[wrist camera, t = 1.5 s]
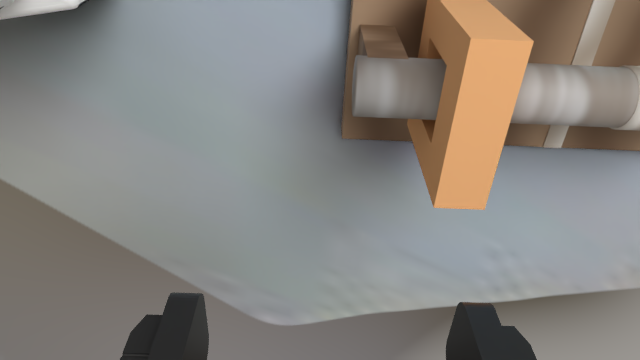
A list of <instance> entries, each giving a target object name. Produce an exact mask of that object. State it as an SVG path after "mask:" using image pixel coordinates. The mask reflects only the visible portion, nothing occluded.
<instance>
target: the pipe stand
mask: <svg viewBox="0 0 640 360" xmlns="http://www.w3.org/2000/svg"><path fill="white" fill-rule="evenodd" d="M487 1H488V2H489V3H491V4H492V5H493V6H494V7H495V8H496V9H497V10H499V11H500V12H501V13H502V14H503V15H504V16H505V17H507V18H508V19H509V20H510V21H511V22H512V23H513V24H515V25H516V26H517V27H518V28H519V29H520V30H521V31H523V32H524V33H525V34H526V35H527V36H528V37H529V38H531V39H532V40H533V41H534V42H533V46H532V49H531V53H530V56H529V59H528V63H527V66H526V70H525V73H524V77H523V80H522V83H521V87H520V90H519V94H518V97H517V100H516V104H515V107H514V111H513V114H512V117H511V121H510V124H509V128H508V131H507V135H506V138H505V141H504V145H512V146H536V147H543V148H585V149H609V150H633V151H640V0H487ZM426 5H427V0H351V11H350V24H349V36H348V49H347V62H346V74H345V87H344V100H343V112H342V125H341V131H342V138H343V139H367V140H391V141H412V138H411V135H410V132H409V129H408V126H407V121H408V119H424V120H436V117H437V112H438V107H439V102H440V97H441V92H442V87H443V82H444V77H445V72H446V67H447V65H446V64H445V62H444V60H443V59H429V58H418V54H419V48H420V42H421V35H422V29H423V23H424V17H425V11H426Z"/></svg>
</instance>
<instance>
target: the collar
mask: <svg viewBox="0 0 640 360" xmlns="http://www.w3.org/2000/svg"><path fill="white" fill-rule="evenodd" d="M533 42H534V41H533V40H532V39H531V38H529V37H528V36H527V35H526V34H525V33H524V32H523V31H521V30H520V29H519V28H518V27H517V26H516V25H515V24H513V23H512V22H511V21H510V20H509V19H508V18H507V17H505V16H504V15H503V14H502V13H501V12H500V11H499V10H497V9H496V8H495V7H494V6H493V5H492V4H491V3H489V2H488V1H487V0H427V5H426V11H425V17H424V23H423V29H422V35H421V42H420V48H419V54H418V58H429V59H443V60H444V62H445V64H446V65H447V67H446V72H445V77H444V82H443V87H442V92H441V97H440V102H439V107H438V112H437V117H436V120H424V119H408V121H407V126H408V129H409V132H410V135H411V138H412V141H413V144H414V148H415V151H416V154H417V157H418V160H419V163H420V166H421V169H422V172H423V176H424V179H425V182H426V185H427V188H428V191H429V194H430V197H431V201H432V204H433V207H434V208H455V209H481V210H485V206H486V203H487V199H488V196H489V193H490V189H491V186H492V182H493V179H494V175H495V172H496V169H497V165H498V162H499V158H500V155H501V152H502V148H503V145H504V141H505V138H506V135H507V131H508V128H509V124H510V121H511V117H512V114H513V111H514V107H515V104H516V100H517V97H518V94H519V90H520V87H521V83H522V80H523V77H524V73H525V70H526V66H527V63H528V59H529V56H530V53H531V49H532V46H533Z"/></svg>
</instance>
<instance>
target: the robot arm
mask: <svg viewBox="0 0 640 360" xmlns="http://www.w3.org/2000/svg"><path fill="white" fill-rule="evenodd" d="M208 345H209V334H208V326H207V317H206V309H205V302H204V296H203V294H200V293H197V294H196V293H171V294H170V296H169V298H168V300H167V303H166V306H165V309H164V312H163V315H146V316H145V317H144V318H143V319H142V320H141V322H140V323H139V324H138V325H137V326H136V327H135V328H134V329H133V330H132V331H131V333H130V336H129V338H128V341H127V343H126V346H125V348H124V351H123V356H122V357H121V358H120V360H207V354H208ZM446 360H537V359H536V357H535V354H534V352H533V350H532V348H531V345H530V344H529V343H528V341H527V340H526V339H525V338H524V337H523V336H522V335H521V334H520V333H519V331H518V330H517V329H516V328H515V327H514V326H501V323H500V321H499V318H498V316H497V313H496V310H495V308H494V306H493V305H492V304H491V303H468V302H460V303H459V304H458V305H457V308H456V312H455V315H454V319H453V322H452V326H451V329H450V332H449V336H448V339H447V344H446Z"/></svg>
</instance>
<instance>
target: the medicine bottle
mask: <svg viewBox="0 0 640 360" xmlns="http://www.w3.org/2000/svg"><path fill="white" fill-rule="evenodd" d="M87 1H89V0H0V20H2V19H9V18H15V17H22V16H29V15H36V14H43V13H50V12H57V11H64V10H71V9H75V8H77V7H79V6H81V5H82V4H84V3H85V2H87Z"/></svg>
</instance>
